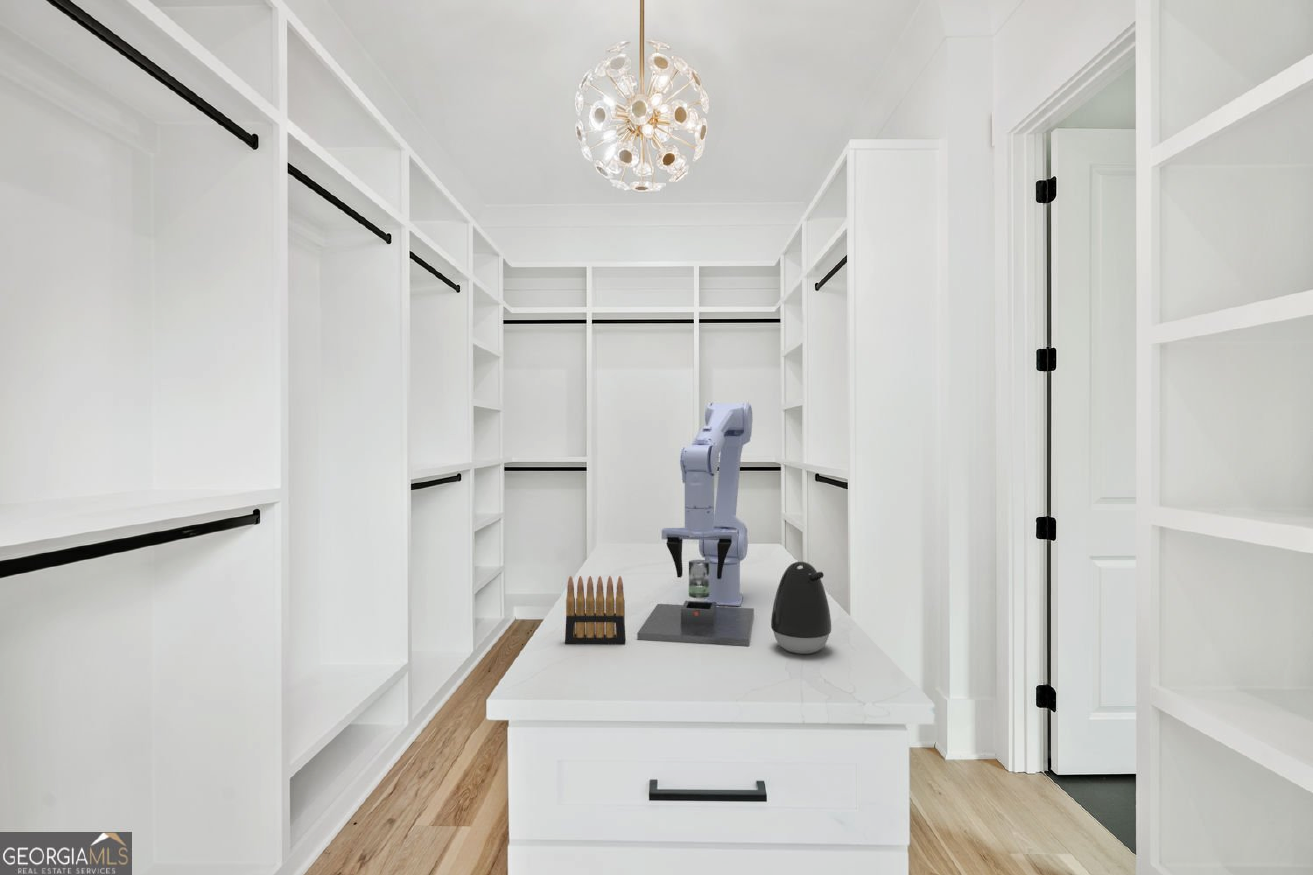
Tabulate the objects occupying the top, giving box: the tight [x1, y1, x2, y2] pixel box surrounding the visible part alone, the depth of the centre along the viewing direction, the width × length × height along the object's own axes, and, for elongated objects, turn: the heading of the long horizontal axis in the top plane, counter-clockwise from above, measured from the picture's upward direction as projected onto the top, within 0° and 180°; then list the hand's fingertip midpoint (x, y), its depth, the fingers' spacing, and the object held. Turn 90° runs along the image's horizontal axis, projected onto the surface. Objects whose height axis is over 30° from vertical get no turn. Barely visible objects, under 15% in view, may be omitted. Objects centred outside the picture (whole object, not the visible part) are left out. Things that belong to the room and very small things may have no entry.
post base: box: [636, 600, 755, 647], centre depth 130 cm, size 20×20×4 cm
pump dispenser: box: [770, 561, 832, 655], centre depth 116 cm, size 10×10×15 cm
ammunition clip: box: [564, 575, 627, 646], centre depth 120 cm, size 11×2×12 cm, turn 90°
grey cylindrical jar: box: [688, 559, 710, 599], centre depth 130 cm, size 4×4×6 cm
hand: (699, 577), depth 130 cm, fingers open, 7 cm apart
